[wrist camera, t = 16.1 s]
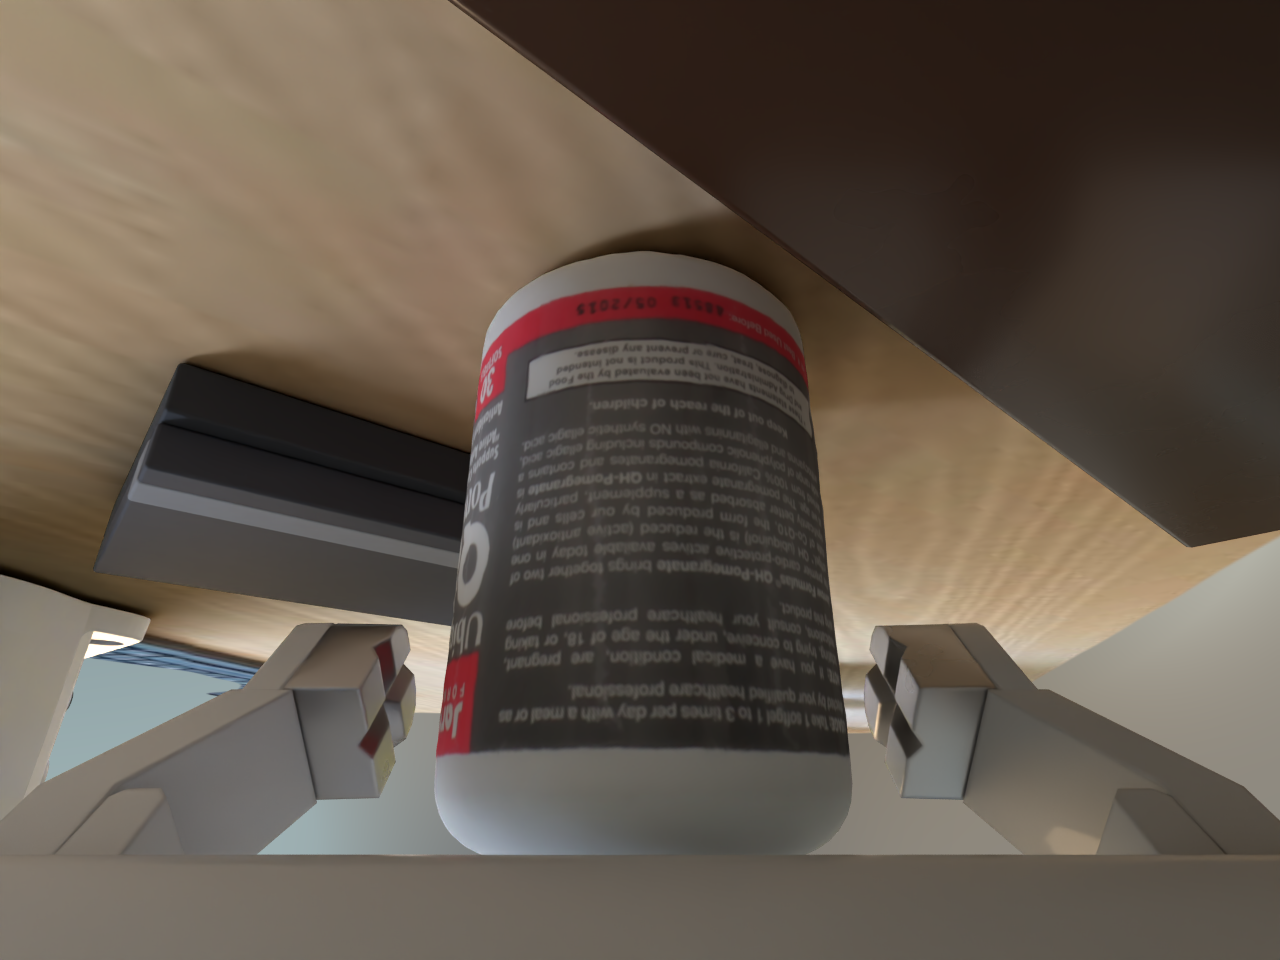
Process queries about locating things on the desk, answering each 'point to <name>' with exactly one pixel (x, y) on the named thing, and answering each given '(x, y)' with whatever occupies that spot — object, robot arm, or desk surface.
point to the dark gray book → (289, 504)
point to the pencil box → (998, 199)
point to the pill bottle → (643, 577)
